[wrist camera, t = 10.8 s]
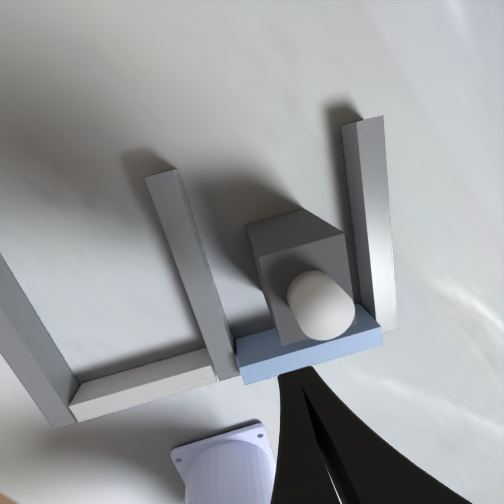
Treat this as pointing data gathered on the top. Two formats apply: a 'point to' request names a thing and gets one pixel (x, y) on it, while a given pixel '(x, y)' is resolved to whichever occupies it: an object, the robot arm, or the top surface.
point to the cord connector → (303, 275)
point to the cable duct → (214, 306)
